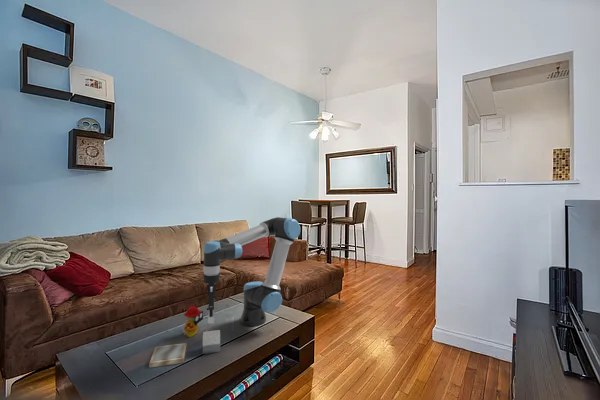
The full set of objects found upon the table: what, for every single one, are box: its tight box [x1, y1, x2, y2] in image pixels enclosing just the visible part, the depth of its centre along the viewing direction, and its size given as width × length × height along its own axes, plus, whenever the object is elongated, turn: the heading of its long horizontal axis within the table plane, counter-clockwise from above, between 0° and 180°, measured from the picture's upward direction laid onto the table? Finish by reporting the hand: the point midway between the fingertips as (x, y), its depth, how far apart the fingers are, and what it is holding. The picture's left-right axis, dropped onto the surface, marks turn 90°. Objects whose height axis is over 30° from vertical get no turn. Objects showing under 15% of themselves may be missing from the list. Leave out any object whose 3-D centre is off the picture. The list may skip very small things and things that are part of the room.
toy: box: [183, 306, 204, 338], centre depth 156 cm, size 11×9×15 cm
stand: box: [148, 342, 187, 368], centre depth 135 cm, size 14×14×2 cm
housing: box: [202, 329, 221, 355], centre depth 141 cm, size 8×6×8 cm
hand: (211, 317), depth 141 cm, fingers open, 13 cm apart
